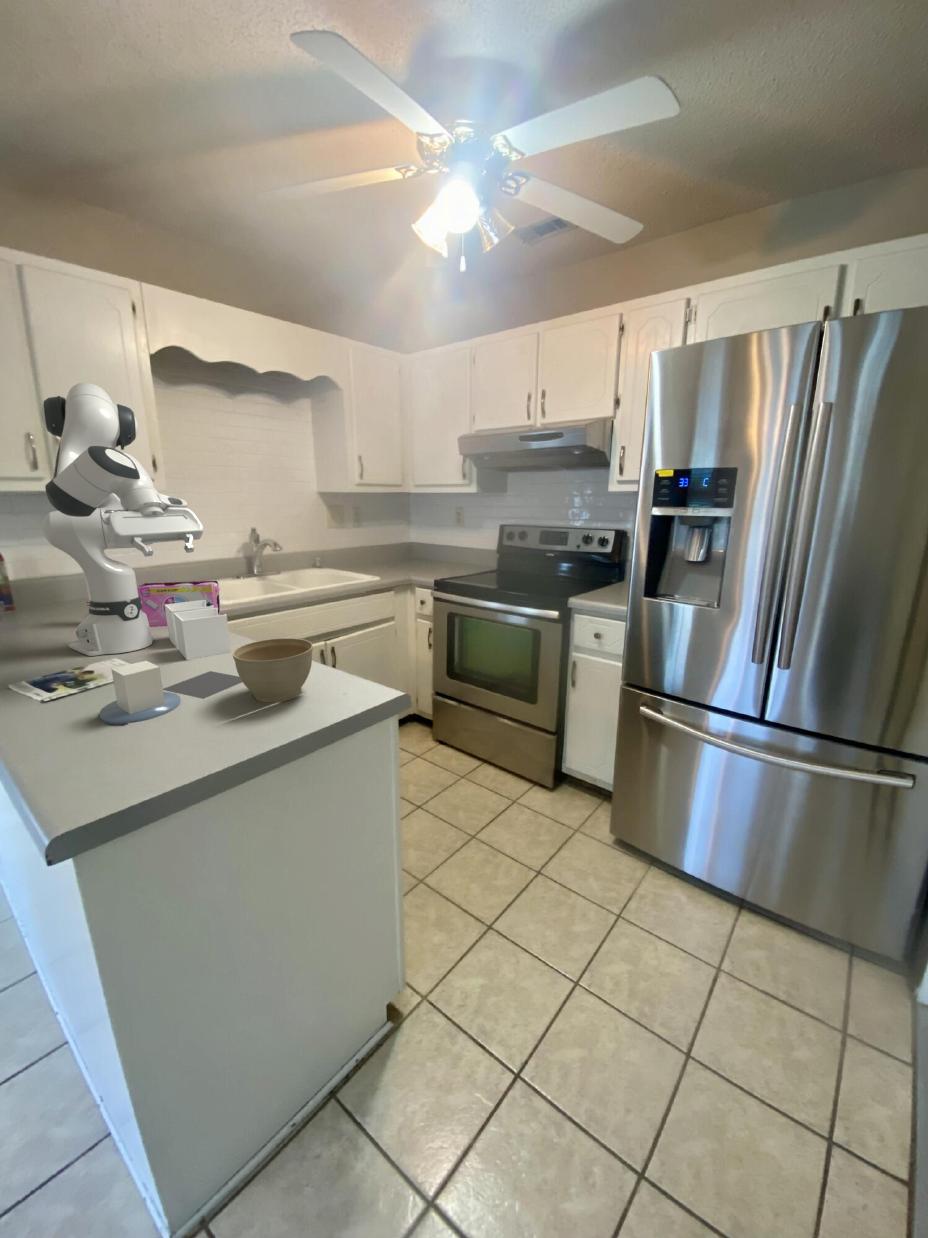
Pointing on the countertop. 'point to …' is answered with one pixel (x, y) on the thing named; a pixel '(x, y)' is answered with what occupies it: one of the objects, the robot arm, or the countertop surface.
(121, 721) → the plate
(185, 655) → the storage container
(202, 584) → the gum box
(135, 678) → the white rectangular block
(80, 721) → the countertop surface
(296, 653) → the planter bowl
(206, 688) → the mat
